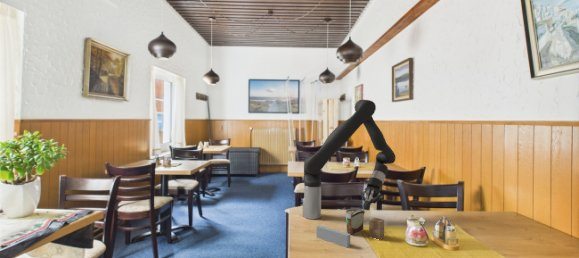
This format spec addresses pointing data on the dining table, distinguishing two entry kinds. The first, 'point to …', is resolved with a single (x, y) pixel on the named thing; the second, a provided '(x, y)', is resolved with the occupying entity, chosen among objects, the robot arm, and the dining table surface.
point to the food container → (354, 220)
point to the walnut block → (376, 228)
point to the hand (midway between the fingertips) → (365, 208)
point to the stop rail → (333, 236)
